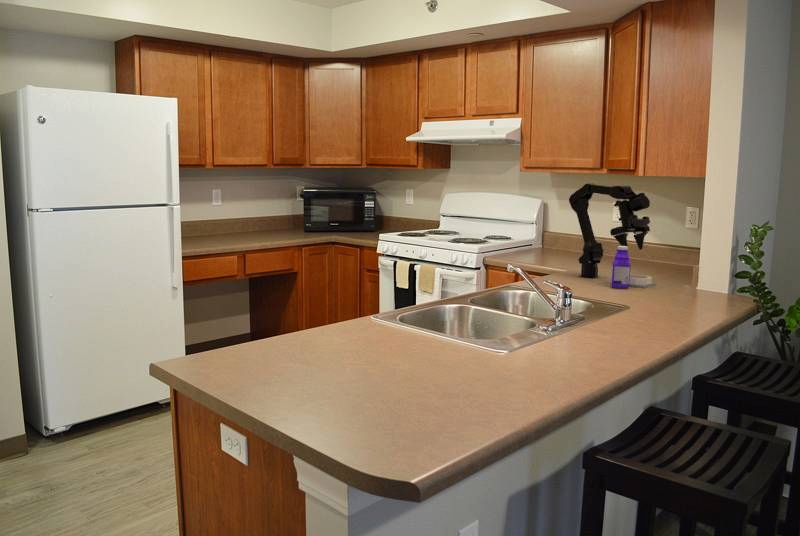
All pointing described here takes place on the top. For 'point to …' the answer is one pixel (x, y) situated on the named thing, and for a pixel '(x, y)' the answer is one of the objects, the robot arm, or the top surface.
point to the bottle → (621, 268)
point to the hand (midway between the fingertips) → (633, 250)
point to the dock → (640, 281)
